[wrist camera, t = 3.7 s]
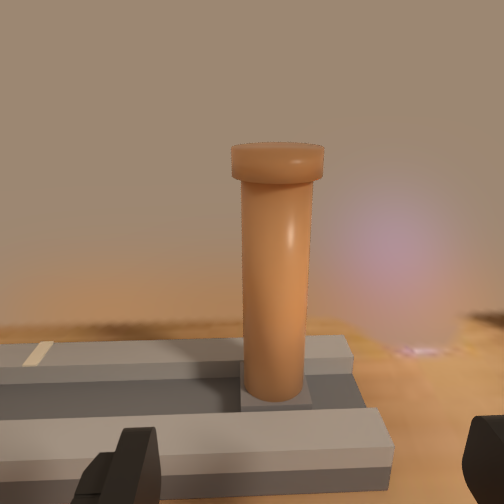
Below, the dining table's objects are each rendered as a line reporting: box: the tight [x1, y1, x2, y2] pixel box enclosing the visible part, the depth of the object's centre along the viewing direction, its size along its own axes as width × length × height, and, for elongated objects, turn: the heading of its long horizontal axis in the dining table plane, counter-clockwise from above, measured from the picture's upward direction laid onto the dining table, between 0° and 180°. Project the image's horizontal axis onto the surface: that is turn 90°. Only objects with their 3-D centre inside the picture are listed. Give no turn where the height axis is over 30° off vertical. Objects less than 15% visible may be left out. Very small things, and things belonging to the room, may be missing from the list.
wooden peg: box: [231, 142, 324, 412], centre depth 20 cm, size 4×4×14 cm
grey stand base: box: [0, 335, 395, 504], centre depth 22 cm, size 24×9×3 cm, turn 92°
